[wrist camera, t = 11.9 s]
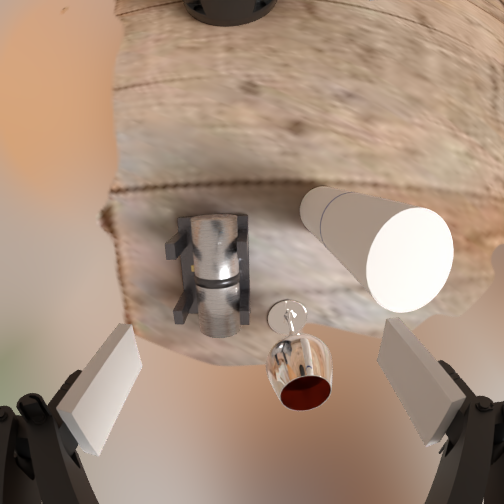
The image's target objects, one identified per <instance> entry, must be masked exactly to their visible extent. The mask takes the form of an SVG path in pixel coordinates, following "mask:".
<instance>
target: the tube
mask: <svg viewBox="0 0 504 504" xmlns="http://www.w3.org/2000/svg"><path fill="white" fill-rule="evenodd" d="M191 232H192V247H193V260H194V280H195V284H196V294H197V304H198V313H199V322H200V330H201V332H202V333H203V334H204V335H206V336H209V337H212V338H226V337H230V336H233V335H235V334H237V333H238V332H239V331H240V329H241V325H240V312H239V311H240V286H239V281H240V270H239V258H237V238H238V226H237V216H236V215H231V214H210V215H201V216H196V217H192V218H191Z"/></svg>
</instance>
